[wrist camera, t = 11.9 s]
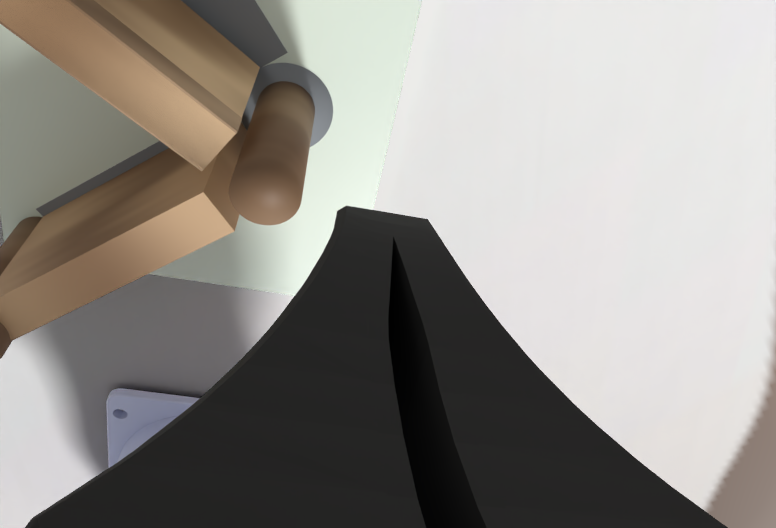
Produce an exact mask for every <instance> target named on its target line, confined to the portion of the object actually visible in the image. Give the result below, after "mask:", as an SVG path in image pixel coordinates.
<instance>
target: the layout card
mask: <svg viewBox="0 0 776 528" xmlns="http://www.w3.org/2000/svg"><path fill="white" fill-rule="evenodd" d="M181 1H182V2H184V3H185V4H186V5H187V6H188V7H190V8H191V9H192V10H193V11H194V12H195V13H197V14H198V15H199V16H200V17H201V18H203V19H204V20H205V21H206V22H207V23H208V24H210V25H211V26H212V27H213V28H214V29H216V30H217V31H218V32H219V33H220V34H221V35H223V36H224V37H225V38H226V39H227V40H229V41H230V42H231V43H232V44H233V45H234V46H236V47H237V48H238V49H239V50H240V51H242V52H243V53H244V54H245V55H246V56H247V57H249V58H250V59H251V60H252V61H253V62H255V63H256V64H257V65H258V66H259V67H260V69H259V71H258V74H257V77H256V80H255V82H254V85H253V88H252V91H251V94H250V96H249V99H248V102H247V105H246V107H245V110H244V113H243V116H242V121H241V123H242V124H243V126H244V127H245V128H246V130H248V127H249V124H250V121H251V118H252V115H253V112H254V109H255V106H256V103H257V100H258V97H259V95H260V93H261V92H262V91H263V89H264V88H266V87H267V86H268V85H270V84H272V83H275V82H279V81H288V82H293V83H295V84H298V85H300V86H301V87H303V88H304V89H305V90H306V91H307V92H308V93H309V94H310V96H311V97H312V99H313V102H314V106H315V116H314V123H313V129H312V136H311V142H310V149H309V155H308V162H307V168H306V175H305V181H304V188H303V194H302V201H301V205H300V207H299V209H298V211H297V213H296V214H295V215H294V216H293V217H292V218H290V219H289V220H288V221H286V222H283V223H281V224H277V225H260V224H256V223H253V222H251V221H248V220H247V219H245V218H244V217H242V216H241V215H240V214H239V218H238V221H237V225H236V228H235V231H234V232H232V233H230V234H228V235H226V236H224V237H222V238H220V239H218V240H216V241H214V242H212V243H210V244H208V245H206V246H204V247H202V248H200V249H198V250H196V251H194V252H192V253H190V254H188V255H186V256H183V257H181V258H179V259H177V260H175V261H173V262H171V263H169V264H167V265H165V266H163V267H161V268H159V269H157V270H155V271H153V272H151V273H149V274H151V275H157V276H164V277H171V278H177V279H184V280H191V281H197V282H204V283H211V284H217V285H224V286H231V287H237V288H244V289H251V290H258V291H264V292H271V293H278V294H284V295H291V296H295V295H296V294H297V292H298V291H299V290H300V288H301V287H302V285H303V284H304V282H305V281H306V279H307V278H308V276H309V275H310V273H311V271H312V270H313V268H314V266H315V265H316V263H317V261H318V260H319V258H320V256H321V255H322V253H323V251H324V249H325V247H326V245H327V243H328V241H329V239H330V237H331V234H332V232H333V229H334V224H335V219H336V214H337V211H338V210H340V209H341V208H343V207H345V206H352V207H358V208H364V209H370V210H373V209H374V204H375V200H376V196H377V192H378V187H379V183H380V179H381V174H382V170H383V166H384V162H385V157H386V153H387V149H388V144H389V140H390V136H391V132H392V127H393V123H394V119H395V114H396V110H397V106H398V102H399V97H400V93H401V89H402V84H403V80H404V76H405V71H406V67H407V63H408V59H409V54H410V50H411V46H412V41H413V37H414V33H415V29H416V24H417V20H418V16H419V11H420V7H421V3H422V0H181ZM168 148H169V147H168V146H166V145H165V144H164V143H162V142H161V141H159V140H158V139H157V138H155V137H154V136H153V135H151V134H150V133H149V132H147V131H146V130H144V129H143V128H142V127H140V126H139V125H138V124H136V123H135V122H134V121H132V120H131V119H129V118H128V117H127V116H125V115H124V114H123V113H121V112H120V111H119V110H117V109H116V108H114V107H113V106H112V105H110V104H109V103H108V102H106V101H105V100H104V99H102V98H101V97H99V96H98V95H97V94H95V93H94V92H93V91H91V90H90V89H89V88H87V87H86V86H84V85H83V84H82V83H80V82H79V81H78V80H76V79H75V78H74V77H72V76H71V75H69V74H68V73H67V72H65V71H64V70H63V69H61V68H60V67H59V66H57V65H56V64H54V63H53V62H52V61H50V60H49V59H48V58H46V57H45V56H44V55H42V54H41V53H39V52H38V51H37V50H35V49H34V48H33V47H31V46H30V45H29V44H27V43H26V42H24V41H23V40H22V39H20V38H19V37H18V36H16V35H15V34H14V33H12V32H11V31H9V30H8V29H7V28H5V27H4V26H3V25H1V24H0V216H1V224H2V231H3V239H4V242H5V241H6V239H7V238H8V237H9V235H10V234H11V233H12V231H13V230H14V229H15V227H16V226H17V225H18V224H19V222H20V221H22V220H23V219H25V218H28V217H43V216H45V215H47V214H49V213H50V212H52V211H54V210H56V209H58V208H60V207H62V206H63V205H65V204H67V203H69V202H71V201H73V200H74V199H76V198H78V197H80V196H82V195H84V194H85V193H87V192H89V191H91V190H93V189H95V188H96V187H98V186H100V185H102V184H104V183H106V182H107V181H109V180H111V179H113V178H115V177H117V176H118V175H120V174H122V173H124V172H126V171H128V170H129V169H131V168H133V167H135V166H137V165H139V164H141V163H142V162H144V161H146V160H148V159H150V158H152V157H153V156H155V155H157V154H159V153H161V152H163V151H164V150H166V149H168Z"/></svg>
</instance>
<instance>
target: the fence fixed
mask: <svg viewBox="0 0 776 528" xmlns="http://www.w3.org/2000/svg"><path fill="white" fill-rule="evenodd" d="M314 116H315V106H314V102H313V99H312V97H311V96H310V94H309V93H308V92H307V91H306V90H305V89H304V88H303V87H301V86H300V85H298V84H295V83H293V82H288V81H279V82H275V83H272V84H270V85H268V86H267V87H266V88H264V89H263V91H262V92H261V93H260V95H259V97H258V100H257V103H256V106H255V109H254V112H253V115H252V118H251V121H250V124H249V127H248V130H246V128H245V127H244V126H243V124H242V123H241V124H240V126H239V129H238V132H237V133H236V134H235V135H234V136H233V137H232V139H231V140H230V141H229V142H228V143H227V144H226V145H225V146H224V147H223V149H222V150H221V151H220V152H219V153H218V154H217V155H216V156H215V157H214V159H213V160H212V161H211V162H210V163H209V164H208V165H207V166H206V167H205V168H204V170H203V171H200V170H199V169H198V168H196V167H195V166H194V165H192V164H191V163H190V162H188V161H187V160H185V159H184V158H183V157H181V156H180V155H179V154H177V153H176V152H174V151H173V150H172V149H170V148H168V149H166V150H164V151H163V152H161V153H159V154H157V155H155V156H153V157H152V158H150V159H148V160H146V161H144V162H142V163H141V164H139V165H137V166H135V167H133V168H131V169H129V170H128V171H126V172H124V173H122V174H120V175H118V176H117V177H115V178H113V179H111V180H109V181H107V182H106V183H104V184H102V185H100V186H98V187H96V188H95V189H93V190H91V191H89V192H87V193H85V194H84V195H82V196H80V197H78V198H76V199H74V200H73V201H71V202H69V203H67V204H65V205H63V206H62V207H60V208H58V209H56V210H54V211H52V212H50V213H49V214H47V215H45V216H43V217H28V218H25V219H23V220H22V221H20V222H19V224H18V225H17V226H16V227H15V229H14V230H13V231H12V233H11V234H10V235H9V237H8V238H7V239H6V241H5V242H4V243H3V244H2V246H1V247H0V359H1V358H2V356H3V355H4V353H5V352H6V350H7V348H8V347H9V345H10V344H11V342H12V340H14V339H16V338H18V337H20V336H22V335H24V334H26V333H29V332H31V331H33V330H35V329H37V328H39V327H41V326H43V325H45V324H47V323H49V322H51V321H53V320H55V319H57V318H59V317H61V316H63V315H65V314H67V313H69V312H71V311H73V310H75V309H77V308H79V307H82V306H84V305H86V304H88V303H90V302H92V301H94V300H96V299H98V298H100V297H102V296H104V295H106V294H108V293H110V292H112V291H114V290H116V289H118V288H120V287H122V286H124V285H126V284H128V283H130V282H132V281H135V280H137V279H139V278H141V277H143V276H145V275H147V274H149V273H151V272H153V271H155V270H157V269H159V268H161V267H163V266H165V265H167V264H169V263H171V262H173V261H175V260H177V259H179V258H181V257H183V256H186V255H188V254H190V253H192V252H194V251H196V250H198V249H200V248H202V247H204V246H206V245H208V244H210V243H212V242H214V241H216V240H218V239H220V238H222V237H224V236H226V235H228V234H230V233H232V232H234V231H235V228H236V225H237V221H238V218H239V214H240V215H241V216H242V217H244V218H245V219H247V220H248V221H251V222H253V223H256V224H260V225H277V224H281V223H283V222H286V221H288V220H289V219H290V218H292V217H293V216H294V215H295V214H296V213H297V211H298V209H299V207H300V205H301V201H302V194H303V188H304V181H305V175H306V168H307V162H308V155H309V149H310V142H311V136H312V129H313V123H314Z"/></svg>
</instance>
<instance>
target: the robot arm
mask: <svg viewBox="0 0 776 528" xmlns="http://www.w3.org/2000/svg"><path fill="white" fill-rule="evenodd" d="M106 409H107V438H108V467H109V468H108V469H107V470H105V471H104V472H102V473H101V474H99V475H98V476H96V477H95V478H93V479H91V480H90V481H88V482H87V483H85V484H84V485H82V486H81V487H79V488H78V489H76V490H75V491H73V492H72V493H70V494H69V495H67V496H66V497H64V498H62V499H61V500H59V501H58V502H56V503H55V504H53V505H52V506H50V507H49V508H47V509H46V510H44V511H42V512H41V513H39V514H38V515H36V516H35V517H33V518H32V519H31V520H30V522H29V523H28V524H27V526H26V527H25V528H727V527H726V526H725V525H723V524H722V523H720V522H719V521H718V520H716V519H715V518H713V517H712V516H711V515H709V514H708V513H707V512H705V511H704V510H703V509H701V508H700V507H698V506H697V505H696V504H694V503H693V502H692V501H690V500H689V499H687V498H686V497H685V496H683V495H682V494H681V493H679V492H678V491H677V490H675V489H674V488H672V487H671V486H670V485H669V484H667V483H666V482H665V481H663V480H662V479H661V478H660V477H658V476H657V475H656V474H655V473H653V472H652V471H651V470H649V469H648V468H647V467H646V466H644V465H643V464H642V463H641V462H639V461H638V460H637V459H636V458H634V457H633V456H632V455H631V454H630V453H629V452H627V451H626V450H625V449H624V448H623V447H622V446H620V445H619V444H618V443H617V442H616V441H615V440H613V439H612V438H611V437H610V436H609V435H608V434H606V433H605V432H604V431H603V430H602V429H601V428H599V427H598V426H597V425H596V424H595V423H594V422H593V421H592V420H591V419H590V418H588V417H587V416H586V415H585V414H584V413H583V412H582V411H581V410H580V409H579V408H578V407H577V406H576V405H574V404H573V403H572V402H571V401H570V400H569V399H568V397H567V396H566V395H565V394H564V393H563V392H562V391H561V390H560V389H559V388H558V387H557V386H556V385H555V384H554V383H553V382H552V381H551V380H550V379H549V378H548V377H547V376H546V375H545V374H544V373H543V372H542V371H541V370H540V369H539V368H538V367H537V366H536V365H535V364H534V362H533V361H532V360H531V359H530V358H529V357H528V356H527V355H526V354H525V352H524V351H523V350H522V349H521V348H520V346H519V345H518V344H517V343H516V342H515V340H514V339H513V338H512V337H511V336H510V335H509V333H508V332H507V331H506V330H505V329H504V327H503V326H502V325H501V324H500V322H499V321H498V320H497V319H496V317H495V316H494V315H493V313H492V312H491V311H490V310H489V308H488V307H487V306H486V304H485V303H484V302H483V300H482V299H481V298H480V296H479V295H478V293H477V292H476V291H475V289H474V288H473V286H472V285H471V284H470V282H469V281H468V279H467V278H466V277H465V275H464V274H463V272H462V271H461V269H460V268H459V266H458V265H457V263H456V262H455V260H454V259H453V257H452V256H451V254H450V253H449V251H448V249H447V248H446V246H445V245H444V243H443V242H442V240H441V239H440V237H439V236H438V234H437V233H436V231H435V230H434V228H433V227H432V225H431V224H430V222H429V221H428V219H423V218H417V217H411V216H405V215H399V214H393V213H387V212H381V211H376V210H370V209H364V208H358V207H352V206H345V207H343V208H341V209H340V210H338V211H337V214H336V219H335V224H334V229H333V232H332V234H331V237H330V239H329V241H328V243H327V245H326V247H325V249H324V251H323V253H322V255H321V256H320V258H319V260H318V261H317V263H316V265H315V266H314V268H313V270H312V271H311V273H310V275H309V276H308V278H307V279H306V281H305V282H304V284H303V285H302V287H301V288H300V290H299V291H298V292H297V294H296V295H295V296H294V298H293V299H292V300H291V302H290V303H289V304H288V306H287V307H286V308H285V310H284V311H283V312H282V314H281V315H280V316H279V318H278V319H277V320H276V321H275V322H274V324H273V325H272V326H271V327H270V328H269V330H268V331H267V332H266V333H265V334H264V335H263V337H262V338H261V339H260V340H259V341H258V342H257V343H256V344H255V345H254V346H253V347H252V349H251V350H250V351H249V352H248V353H247V354H246V355H245V356H244V357H243V358H242V359H241V360H240V361H239V362H238V363H237V364H236V365H235V366H234V367H233V368H232V369H231V370H230V371H229V372H228V373H227V374H226V375H225V376H224V377H222V378H221V379H220V380H219V381H218V382H217V383H216V384H215V385H214V386H213V387H212V388H211V389H210V390H209V391H208V392H206V393H205V394H204V395H203V396H202V397H201V398H195V397H187V396H179V395H171V394H163V393H155V392H148V391H140V390H132V389H124V388H117V389H114V390H112V391H111V392H110V393H109V396H108V398H107V401H106ZM119 409H121V410H119ZM122 410H124V411H122Z"/></svg>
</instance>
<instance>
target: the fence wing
mask: <svg viewBox="0 0 776 528" xmlns="http://www.w3.org/2000/svg"><path fill="white" fill-rule="evenodd" d="M0 24H1V25H3V26H4V27H5V28H7V29H8V30H9V31H11V32H12V33H14V34H15V35H16V36H18V37H19V38H20V39H22V40H23V41H24V42H26V43H27V44H29V45H30V46H31V47H33V48H34V49H35V50H37V51H38V52H39V53H41V54H42V55H44V56H45V57H46V58H48V59H49V60H50V61H52V62H53V63H54V64H56V65H57V66H59V67H60V68H61V69H63V70H64V71H65V72H67V73H68V74H69V75H71V76H72V77H74V78H75V79H76V80H78V81H79V82H80V83H82V84H83V85H84V86H86V87H87V88H89V89H90V90H91V91H93V92H94V93H95V94H97V95H98V96H99V97H101V98H102V99H104V100H105V101H106V102H108V103H109V104H110V105H112V106H113V107H114V108H116V109H117V110H119V111H120V112H121V113H123V114H124V115H125V116H127V117H128V118H129V119H131V120H132V121H134V122H135V123H136V124H138V125H139V126H140V127H142V128H143V129H144V130H146V131H147V132H149V133H150V134H151V135H153V136H154V137H155V138H157V139H158V140H159V141H161V142H162V143H164V144H165V145H166V146H168V147H169V148H170V149H172V150H173V151H174V152H176V153H177V154H179V155H180V156H181V157H183V158H184V159H185V160H187V161H188V162H190V163H191V164H192V165H194V166H195V167H196V168H198V169H199V170H200V171H203V170H204V168H205V167H206V166H207V165H208V164H209V163H210V162H211V161H212V160H213V159H214V157H215V156H216V155H217V154H218V153H219V152H220V151H221V150H222V149H223V147H224V146H225V145H226V144H227V143H228V142H229V141H230V140H231V139H232V137H233V136H234V135H235V134H236V133H237V132H238V129H239V126H240V124H241V121H242V116H243V113H244V110H245V107H246V105H247V102H248V99H249V96H250V94H251V91H252V88H253V85H254V82H255V80H256V77H257V74H258V71H259V69H260V67H259V66H258V65H257V64H256V63H255V62H253V61H252V60H251V59H250V58H249V57H247V56H246V55H245V54H244V53H243V52H242V51H240V50H239V49H238V48H237V47H236V46H234V45H233V44H232V43H231V42H230V41H229V40H227V39H226V38H225V37H224V36H223V35H221V34H220V33H219V32H218V31H217V30H216V29H214V28H213V27H212V26H211V25H210V24H208V23H207V22H206V21H205V20H204V19H203V18H201V17H200V16H199V15H198V14H197V13H195V12H194V11H193V10H192V9H191V8H190V7H188V6H187V5H186V4H185V3H184V2H182V1H181V0H0Z"/></svg>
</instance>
